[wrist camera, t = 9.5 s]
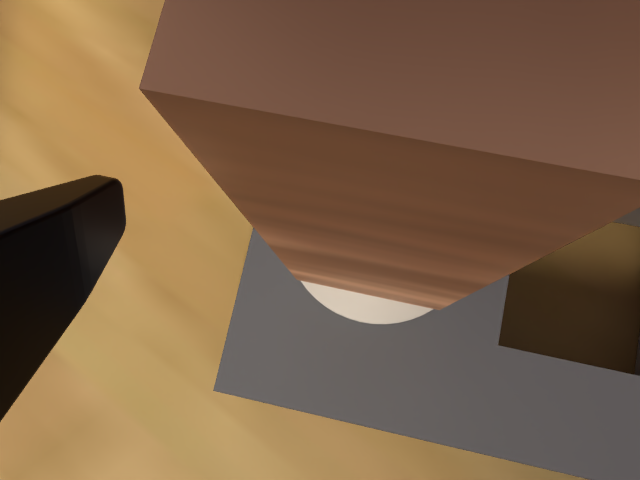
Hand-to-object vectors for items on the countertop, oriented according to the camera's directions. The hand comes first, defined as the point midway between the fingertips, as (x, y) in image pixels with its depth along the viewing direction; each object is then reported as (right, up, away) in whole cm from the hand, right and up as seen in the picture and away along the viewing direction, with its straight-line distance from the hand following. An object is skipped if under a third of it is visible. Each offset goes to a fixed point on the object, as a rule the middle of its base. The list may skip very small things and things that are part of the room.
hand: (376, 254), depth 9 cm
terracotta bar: (+1, +1, +8) cm, 8 cm away
